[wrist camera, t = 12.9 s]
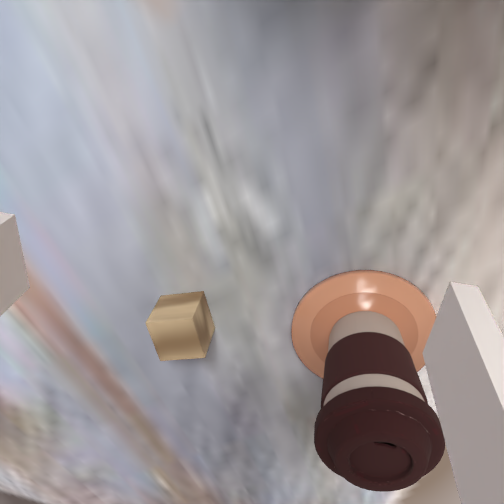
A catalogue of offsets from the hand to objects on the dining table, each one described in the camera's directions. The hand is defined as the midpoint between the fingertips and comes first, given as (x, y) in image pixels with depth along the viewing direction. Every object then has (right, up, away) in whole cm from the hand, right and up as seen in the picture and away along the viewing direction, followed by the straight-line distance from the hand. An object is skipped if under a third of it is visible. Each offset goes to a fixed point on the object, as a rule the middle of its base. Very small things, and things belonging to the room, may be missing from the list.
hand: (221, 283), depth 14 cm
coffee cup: (+13, -8, +33) cm, 36 cm away
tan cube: (-6, -6, +36) cm, 37 cm away
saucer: (+13, -7, +34) cm, 37 cm away
